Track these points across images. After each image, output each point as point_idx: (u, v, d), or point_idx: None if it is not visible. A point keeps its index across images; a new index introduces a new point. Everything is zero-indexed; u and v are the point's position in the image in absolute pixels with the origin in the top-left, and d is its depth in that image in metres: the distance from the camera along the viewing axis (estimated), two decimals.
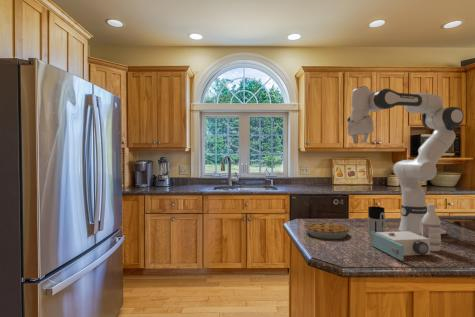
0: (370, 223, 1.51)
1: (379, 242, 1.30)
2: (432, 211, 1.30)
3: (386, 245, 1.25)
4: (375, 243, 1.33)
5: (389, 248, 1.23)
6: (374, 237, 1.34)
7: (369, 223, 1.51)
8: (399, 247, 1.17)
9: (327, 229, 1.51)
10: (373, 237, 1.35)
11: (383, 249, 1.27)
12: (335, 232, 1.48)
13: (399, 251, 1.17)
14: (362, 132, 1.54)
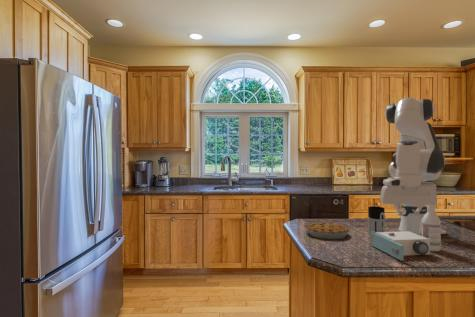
0: (370, 223, 1.51)
1: (379, 242, 1.30)
2: (432, 211, 1.30)
3: (386, 245, 1.25)
4: (375, 243, 1.33)
5: (389, 248, 1.23)
6: (374, 237, 1.34)
7: (369, 223, 1.51)
8: (399, 247, 1.17)
9: (327, 229, 1.51)
10: (373, 237, 1.35)
11: (383, 249, 1.27)
12: (335, 232, 1.48)
13: (399, 251, 1.17)
14: (425, 203, 1.17)
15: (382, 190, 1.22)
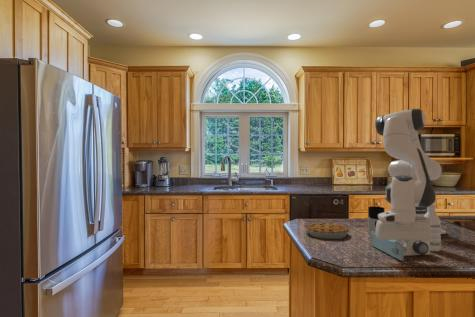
0: (370, 223, 1.51)
1: (379, 242, 1.30)
2: (432, 211, 1.30)
3: (386, 245, 1.25)
4: (375, 243, 1.33)
5: (389, 248, 1.23)
6: (374, 237, 1.34)
7: (369, 223, 1.51)
8: (399, 247, 1.17)
9: (327, 229, 1.51)
10: (373, 237, 1.35)
11: (383, 249, 1.27)
12: (335, 232, 1.48)
13: (399, 251, 1.17)
14: (419, 239, 1.18)
15: (377, 225, 1.22)
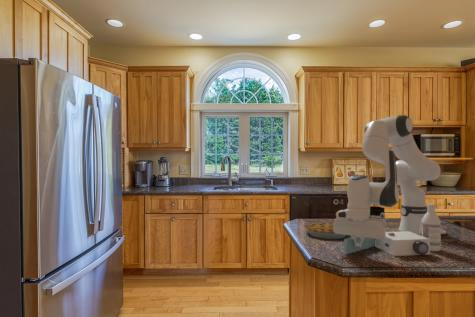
0: None
1: None
2: (432, 211, 1.30)
3: None
4: None
5: None
6: None
7: None
8: None
9: (327, 229, 1.51)
10: None
11: None
12: None
13: None
14: (372, 237, 1.21)
15: None
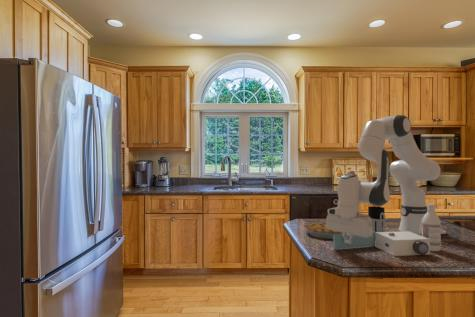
0: None
1: None
2: (432, 211, 1.30)
3: None
4: None
5: None
6: None
7: None
8: None
9: (327, 229, 1.51)
10: None
11: None
12: (335, 232, 1.48)
13: None
14: (358, 234, 1.24)
15: None
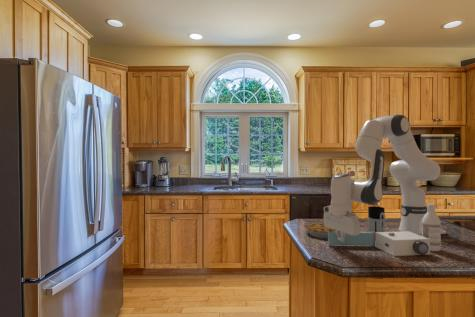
0: (370, 223, 1.51)
1: None
2: (432, 211, 1.30)
3: None
4: None
5: None
6: None
7: (369, 223, 1.51)
8: None
9: (327, 229, 1.51)
10: None
11: None
12: None
13: None
14: (346, 232, 1.28)
15: None
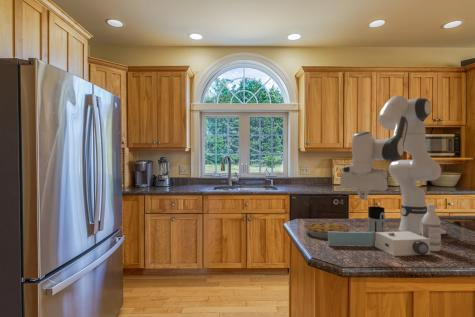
0: (370, 223, 1.51)
1: None
2: (432, 211, 1.30)
3: None
4: None
5: None
6: None
7: (369, 223, 1.51)
8: None
9: (327, 229, 1.51)
10: None
11: None
12: None
13: None
14: (373, 188, 1.28)
15: None
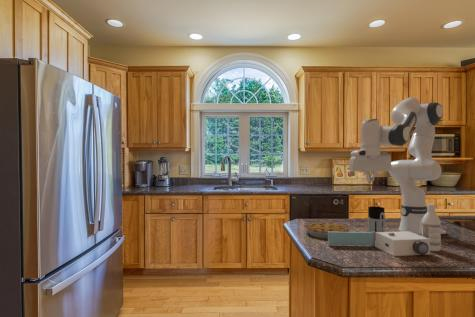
0: (370, 223, 1.51)
1: None
2: (432, 211, 1.30)
3: None
4: None
5: None
6: None
7: (369, 223, 1.51)
8: None
9: (327, 229, 1.51)
10: None
11: None
12: None
13: None
14: (383, 170, 1.44)
15: (351, 160, 1.45)
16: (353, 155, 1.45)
